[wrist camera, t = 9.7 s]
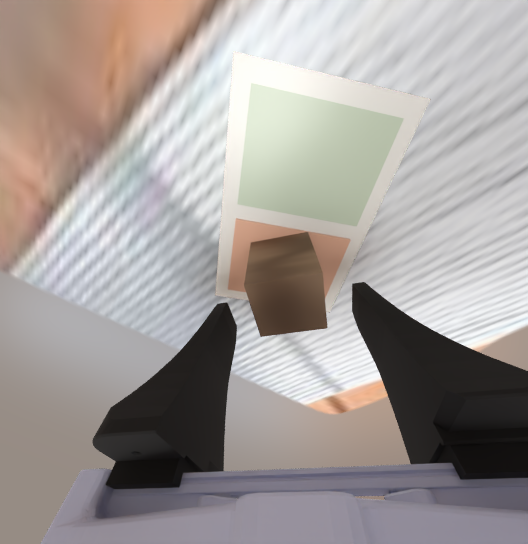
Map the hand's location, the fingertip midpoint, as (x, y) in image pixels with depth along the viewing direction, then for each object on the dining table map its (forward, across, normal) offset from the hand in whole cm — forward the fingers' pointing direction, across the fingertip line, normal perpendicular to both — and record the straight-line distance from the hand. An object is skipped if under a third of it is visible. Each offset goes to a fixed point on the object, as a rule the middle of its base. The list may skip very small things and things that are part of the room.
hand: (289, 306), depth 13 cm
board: (+6, -1, -3) cm, 6 cm away
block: (+4, 0, 0) cm, 5 cm away
